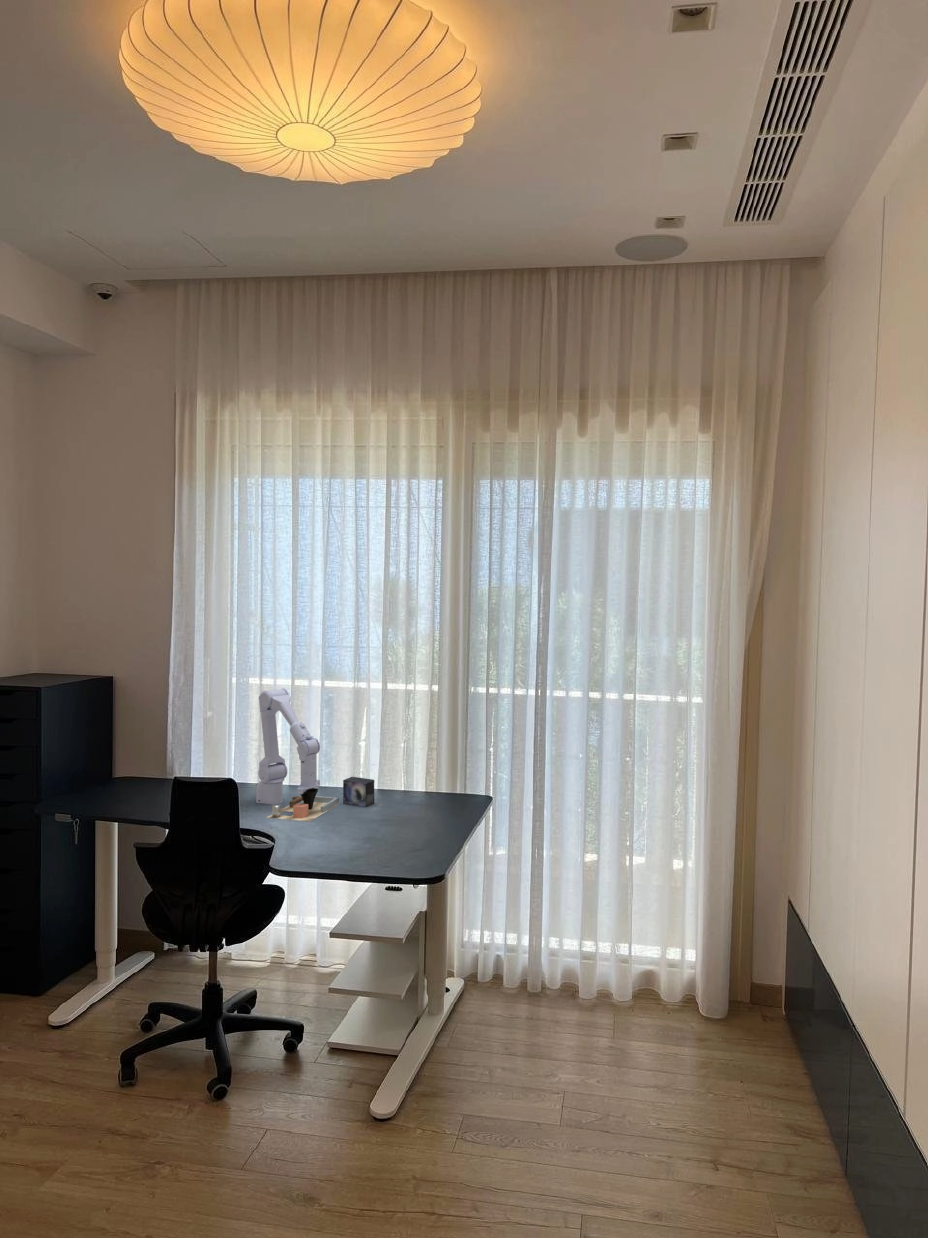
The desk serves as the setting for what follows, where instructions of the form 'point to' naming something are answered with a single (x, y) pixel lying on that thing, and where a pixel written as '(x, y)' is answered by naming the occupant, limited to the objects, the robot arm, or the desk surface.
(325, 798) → the grey rectangular frame
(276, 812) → the grey metal peg
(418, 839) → the desk surface
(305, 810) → the coral cube
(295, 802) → the walnut bar
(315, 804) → the birch board
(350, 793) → the small box
